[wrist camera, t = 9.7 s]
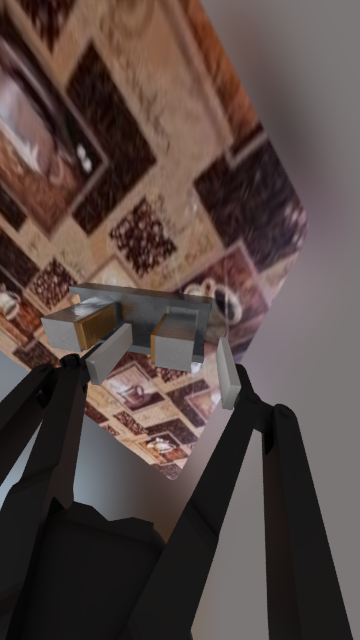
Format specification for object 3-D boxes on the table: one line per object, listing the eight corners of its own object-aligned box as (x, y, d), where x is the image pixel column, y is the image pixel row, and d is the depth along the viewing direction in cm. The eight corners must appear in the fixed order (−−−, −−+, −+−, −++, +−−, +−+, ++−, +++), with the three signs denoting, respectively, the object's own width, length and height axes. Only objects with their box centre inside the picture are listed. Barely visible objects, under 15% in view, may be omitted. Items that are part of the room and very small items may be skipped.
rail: (86, 282, 24) (17, 298, 15) (210, 297, 22) (215, 325, 13) (94, 324, 28) (41, 357, 19) (202, 340, 26) (203, 386, 17)
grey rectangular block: (167, 308, 22) (149, 335, 15) (197, 312, 21) (194, 341, 14) (166, 331, 24) (149, 365, 16) (194, 335, 23) (189, 371, 16)
